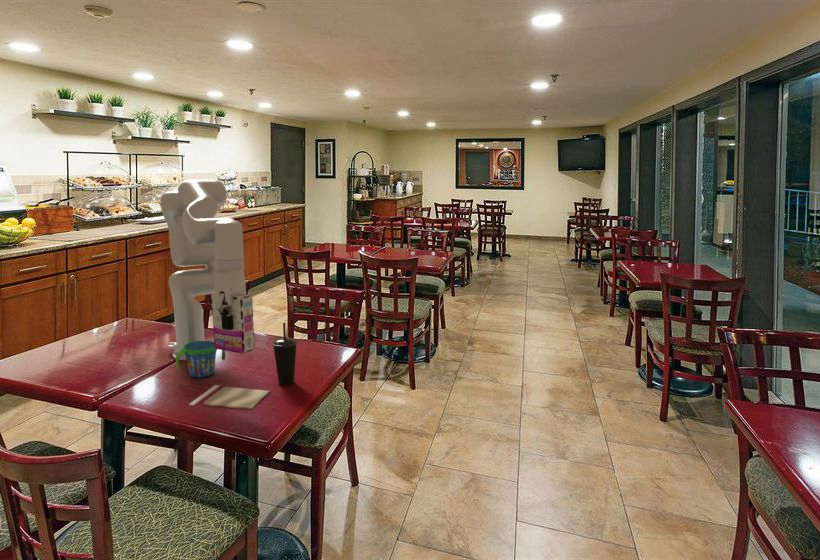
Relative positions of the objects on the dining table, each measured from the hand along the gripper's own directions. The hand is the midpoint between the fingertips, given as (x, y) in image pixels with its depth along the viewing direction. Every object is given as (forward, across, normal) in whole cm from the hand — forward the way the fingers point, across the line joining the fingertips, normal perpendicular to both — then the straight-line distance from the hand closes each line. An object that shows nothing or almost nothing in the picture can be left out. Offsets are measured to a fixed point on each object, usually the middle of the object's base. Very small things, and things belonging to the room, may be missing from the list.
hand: (233, 325), depth 146 cm
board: (+23, 0, 0) cm, 23 cm away
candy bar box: (+7, 0, 0) cm, 7 cm away
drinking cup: (+23, -14, +10) cm, 28 cm away
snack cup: (+23, -15, -20) cm, 34 cm away
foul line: (+23, 0, -10) cm, 25 cm away
